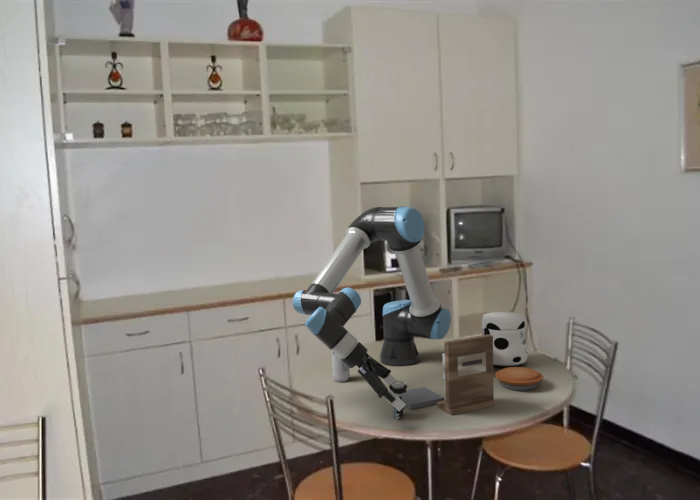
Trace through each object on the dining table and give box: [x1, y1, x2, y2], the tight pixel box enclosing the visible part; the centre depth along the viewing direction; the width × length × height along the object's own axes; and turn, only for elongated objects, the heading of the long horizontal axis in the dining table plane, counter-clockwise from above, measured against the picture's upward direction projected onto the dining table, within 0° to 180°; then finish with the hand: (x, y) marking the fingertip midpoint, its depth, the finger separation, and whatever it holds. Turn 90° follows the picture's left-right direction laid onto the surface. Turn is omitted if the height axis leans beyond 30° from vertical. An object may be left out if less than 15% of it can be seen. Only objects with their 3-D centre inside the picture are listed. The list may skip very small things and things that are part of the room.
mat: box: [401, 386, 445, 410], centre depth 199 cm, size 12×12×2 cm
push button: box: [388, 380, 408, 420], centre depth 185 cm, size 7×5×10 cm
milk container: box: [481, 311, 529, 368], centre depth 233 cm, size 17×17×18 cm
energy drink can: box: [331, 353, 351, 383], centre depth 221 cm, size 6×6×15 cm
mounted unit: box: [436, 335, 497, 416], centre depth 192 cm, size 10×16×22 cm, turn 114°
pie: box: [494, 366, 544, 392], centre depth 209 cm, size 15×16×5 cm
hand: (402, 399), depth 185 cm, fingers open, 13 cm apart
